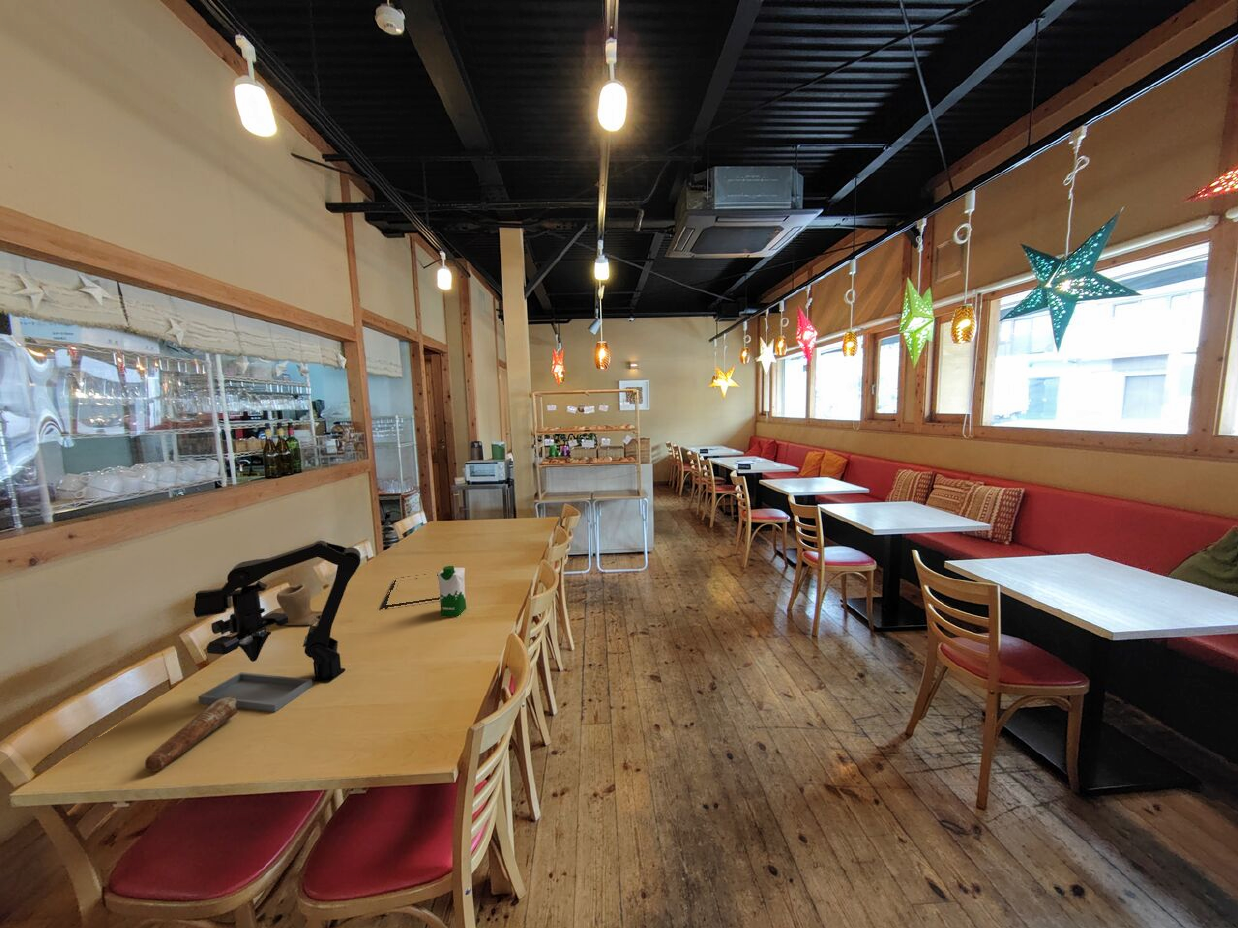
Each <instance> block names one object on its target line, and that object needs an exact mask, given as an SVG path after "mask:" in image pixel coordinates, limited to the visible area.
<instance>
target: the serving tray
mask: <svg viewBox="0 0 1238 928" xmlns="http://www.w3.org/2000/svg"><path fill="white" fill-rule="evenodd" d="M312 687H313V680H312V679H311V678H302V677H300V678H299V677H291V676H279V675H271V674H262V673H254V672H253V673H251V672H241V671H240V672H239V673H237V674H236V675H234V676H232V677H230V678H228V679H227V680H224V681H223V682H222V683H220V684H218V685H216V686H214V687H212V688H211V689H209V690H207V691H205V692H203V693H202V694H200V695H198V700H199V701H198V702H199V704H201V705H209V706H210V705H211V704H213V703H214V702H215V701H217V700H218V699H222V698H225V697H233V698H236V699H237V704H236V706H237V709H242V710H251V711H259V712H269V713H277V712H278V711H280V710H281V709H282V708H284V707H285V706H286V705H288V704H290V703H291V702H292V701H294V700H295V699H297V698H298V697H300V696H301V695H302V694H303V693H305V692H306V691H307V690H309V689H310V688H311V689H312Z"/></svg>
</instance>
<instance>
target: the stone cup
mask: <svg viewBox="0 0 1238 928" xmlns="http://www.w3.org/2000/svg"><path fill="white" fill-rule="evenodd" d="M311 599H312V598H311V591H310V588H309V586H308V585H306V584H304V583H300V584H293V585H290V586H287V587H285V588H283V589H282V590H280V591H279V592H278V593H277V594H276V600H277V601H276V602H277V603H278V605H279V607H280V608H281V609H282V610H283V613H285V614H286V615H287V616H288V620H289V622H288V623H286V624H284V625H283V626H310V625H316V624H317V623H318V621H319V619H320V617H321V614H322V611H323V610H322V611H320V610H315V611H314V610H312V609H311ZM316 622H317V623H316Z"/></svg>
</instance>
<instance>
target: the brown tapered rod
mask: <svg viewBox="0 0 1238 928" xmlns="http://www.w3.org/2000/svg"><path fill="white" fill-rule="evenodd" d="M236 704H237V699H236V698H233V697H225V698H222V699H218V700H217V701H215V702H214V703H213V704H211V705H209V706H207V708H205V709H204V710H203V711H201V712H200V713H199V714H197V715H196V716H195V718H193V719H192V720H191V721H189V722H188V723H186V724H185V725H184V726H183V727H182V728H180V729H179V730H178V731H177V732H176V733H174V734H173V735H172V736H171V737H169V738H168V740H166V741H165V742H164V743H163V744H161V745H160V746H159V747H158V748H157V749H155V751H153V752H152V753H151V754H150V755H149V756H148V757H147V758H146V759H145V762H144V766H145V769H146V770H147V771H149V772H151V773H153V772H159V771H161V770H162V769H163V768H165V767H166V766H168V765H169V764H170V763H171V762H173V761H174V760H176V759H178V757H179V756H182V755H183V754H184V753H186V752H187V751H188V750H190V749H191V748H192V747H193V746H195V745H196V744H197V743H199V742H201V740H203V739H204V738H205V737H207V736H208V735H209V734H211V733H212V732H214V731H215V730H216V729H218V728H219V727H221V726H222V725H223V724H225V723H226V722H228V721H229V720H230V719H231V718H233V717H234V716H235V715H236V714H237V713H238V710H239V708H237V706H236Z"/></svg>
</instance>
